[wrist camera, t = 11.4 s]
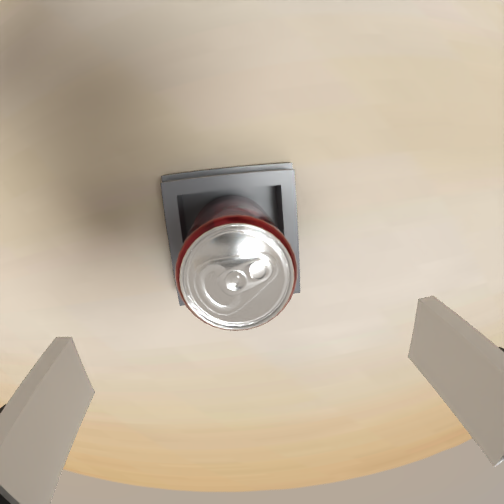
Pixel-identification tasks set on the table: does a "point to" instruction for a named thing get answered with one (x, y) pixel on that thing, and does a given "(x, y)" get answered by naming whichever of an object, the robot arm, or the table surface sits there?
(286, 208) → the box
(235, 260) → the soda can
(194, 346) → the table surface
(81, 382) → the robot arm
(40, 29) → the table surface
